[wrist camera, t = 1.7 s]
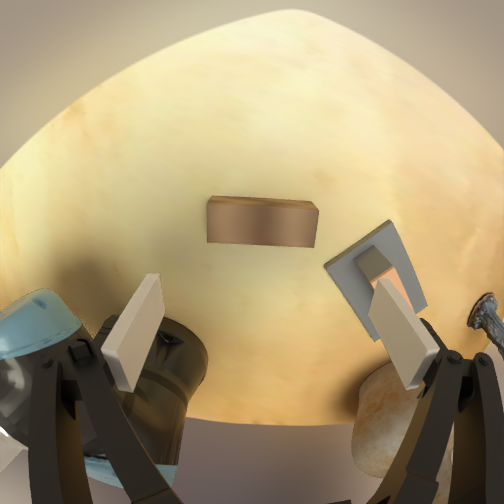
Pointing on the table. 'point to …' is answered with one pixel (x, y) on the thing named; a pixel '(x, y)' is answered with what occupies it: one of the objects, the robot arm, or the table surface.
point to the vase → (390, 427)
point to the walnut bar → (261, 221)
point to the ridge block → (375, 272)
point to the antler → (488, 321)
